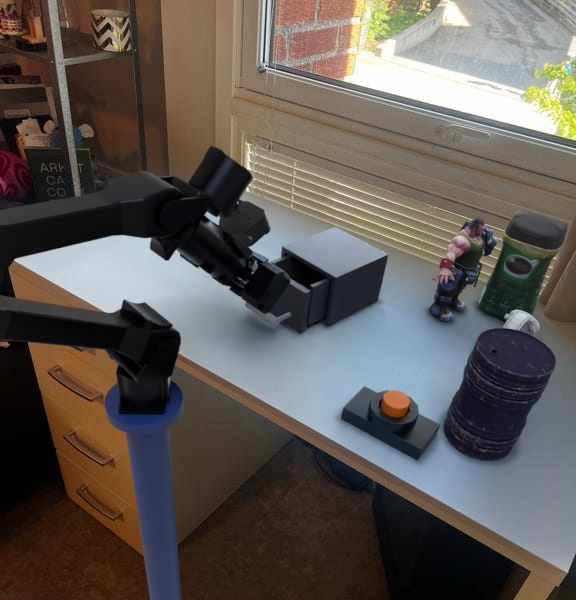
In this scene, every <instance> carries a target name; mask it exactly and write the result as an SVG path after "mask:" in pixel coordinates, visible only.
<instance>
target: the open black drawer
mask: <svg viewBox="0 0 576 600" xmlns="http://www.w3.org/2000/svg"><path fill="white" fill-rule="evenodd" d="M270 263H271V264H273V265H275V266H276V267H278V268H280V269H281V270H283V271H284V272H285V273H286V274H288V275H289V276H290V281H291V282H290V284H289V285H288V286H287V288H286V289H285V291H284V292H283V294H282V295H281V297H280V298H279V300H278V301H277V302H276V304H275V305H274V307H273V308H272V310H271V311H270V313H267V314H263V313H262V312H260V311H259V310H257V309H256V308H254V307H253V306H251V305H250V304H249V303H247V302H246V301H245V303H244V306H245V307H246V308H247V309H248V310H250V311H251V312H252V313H254V314H256V315H257V316H259V317H260V318H261V319H263V320H264V321H265V322H267V323H269V324H270V325H272V326H273V327H278V326H279V325H280V323H281V322H282V323H283V324H284V325H286V326H287V327H288V328H290V329H292V330H293V331H295V332H296V333H298V334H299V335H302V334H303V333H305V332H306V330H307V329H306V328H307V326H310V325H312V324H314V323H315V322H317V321H318V320H320V319H322V318H324V317H326V313H327V307H328V301H329V295H330V289H331V283H332V280H331V279H329V278H328V277H326V276H324V275H323V274H321V273H319V272H317V271H316V270H314V269H312V268H311V267H309V266H307V265H306V264H304V263H302V262H300V261H299V260H297V259H295V258H294V257H292V256H290V255H286V256H284V257H281V256H280V257H279V258H276V259H274V260H273V259H272V260H271V261H270ZM318 322H319V321H318Z"/></svg>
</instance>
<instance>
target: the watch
mask: <svg viewBox="0 0 576 600" xmlns="http://www.w3.org/2000/svg"><path fill="white" fill-rule="evenodd" d="M504 318H505V319H507V321H505V323H504V325H503V326H502V328H508V329H514V330H518V331H522V332H524V333H527V334H529V335H532V336H535V335H536V334H537V332H539V330H540V329H541V328H540V327H541V325H540V323H539V321H538V319H537V318H535V316H533V314H532V315H530V314H529V313H527V312H524V311H522V310H513V311H511V313H510V314H506V315H505V317H504Z"/></svg>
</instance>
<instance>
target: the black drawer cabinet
mask: <svg viewBox="0 0 576 600" xmlns="http://www.w3.org/2000/svg"><path fill="white" fill-rule="evenodd" d="M286 255H290V256H292V257H294V258H295V259H297V260H299V261H300V262H302V263H304V264H306V265H307V266H309V267H311V268H312V269H314V270H316V271H317V272H319V273H321V274H323V275H324V276H326V277H328V278H329V279H331V280H332V283H331V289H330V295H329V301H328V307H327V313H326V317H324V318H322V319H320V320H318V322H319V323H321V324H322V325H324V326H326V327H327V328H329V327H331V326H333V325H335V324H337V323H339V322H340V321H343V320H344V319H346V318H348V317H350V316H352V315H355V314H357V313H358V312H360V311H362V310H364V309H366V308H368V307H370V306H372V305H374V304H375V303H377V302H379V297H380V294H381V289H382V285H383V280H384V277H385V272H386V268H387V264H388V259H389V254H388V253H386V252H385V251H382V250H381V249H379V248H378V247H376V246H373V245H371V244H370V243H367V242H366V241H364V240H363V239H359V238H358V237H356V236H354V235H352V234H350V233H348V232H346V231H344V230H343V229H340V228H338V227H337V226H334V227H331V228H328V229H325V230H322V231H320V232H317V233H315V234H312V235H310V236H307V237H304V238H301V239H298V240H296V241H293V242H290V243H287V244H284V245H283V246H281V252H280V258H281V257H284V256H286Z"/></svg>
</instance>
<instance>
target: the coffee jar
mask: <svg viewBox="0 0 576 600" xmlns="http://www.w3.org/2000/svg"><path fill="white" fill-rule="evenodd" d="M568 226H569V224H568V222H567V221H563V220H559V219H555V218H552V217H549V216H547V215H543V214H539V213H536V212H534V211H530V210H527V209H525V208H520V209H518V210H517V211H516V212H515V213H514V214H513V215H512V216H511V218H510V220H509V221H508V224H507V225H506V227H505V229H504V230H503V234H502V247H501V249H500V253H499V255H498V258H497V259H496V263H495V265H494V267H493V269H492V272H491V274H490V276H489V277H488V279H487V282H486V284H485V285H484V287H483V290H482V292H481V295H480V297H479V300H478V306H479V308H480V309H481V310H482V311H483V312H484V313H486V314H489V315H491V316H493V317H496V318H497V319H501V320H504V321H505V322H507V319H505V318H504V317H505V315H506V314H510V313H511V311H513V310H522V311H524V312H527V313H529V314H530V315H532V316H533V314H534V312H535V309H536V306H537V303H538V300H539V298H540V297H539V296H540V294H541V293H540V292H541V290H542V287H543V284H544V280H545V277H546V275H547V273H548V270H549V267H550V265H551V262H552V261H553V259H554V257H556V256H557V255H558V254H559V253H560V251H561V250H562V248H563V246H564V243H565V239H566V235H567V231H568Z"/></svg>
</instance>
